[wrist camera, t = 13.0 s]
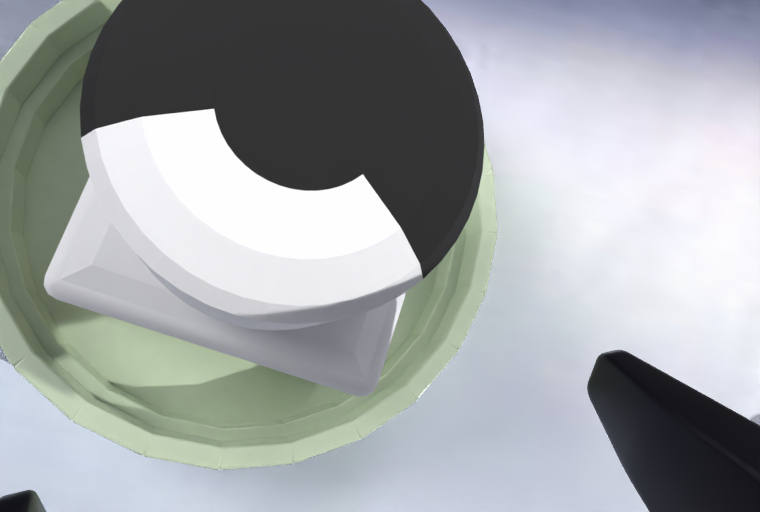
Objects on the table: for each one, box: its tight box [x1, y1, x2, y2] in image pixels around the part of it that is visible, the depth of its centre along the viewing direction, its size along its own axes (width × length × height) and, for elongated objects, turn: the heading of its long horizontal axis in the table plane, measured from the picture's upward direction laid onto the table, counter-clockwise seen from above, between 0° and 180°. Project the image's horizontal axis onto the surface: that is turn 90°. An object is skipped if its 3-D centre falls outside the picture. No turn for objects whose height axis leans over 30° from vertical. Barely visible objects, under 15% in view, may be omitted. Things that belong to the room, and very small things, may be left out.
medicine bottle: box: [44, 0, 484, 396], centre depth 14 cm, size 7×7×12 cm
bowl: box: [0, 0, 497, 470], centre depth 19 cm, size 15×15×3 cm
